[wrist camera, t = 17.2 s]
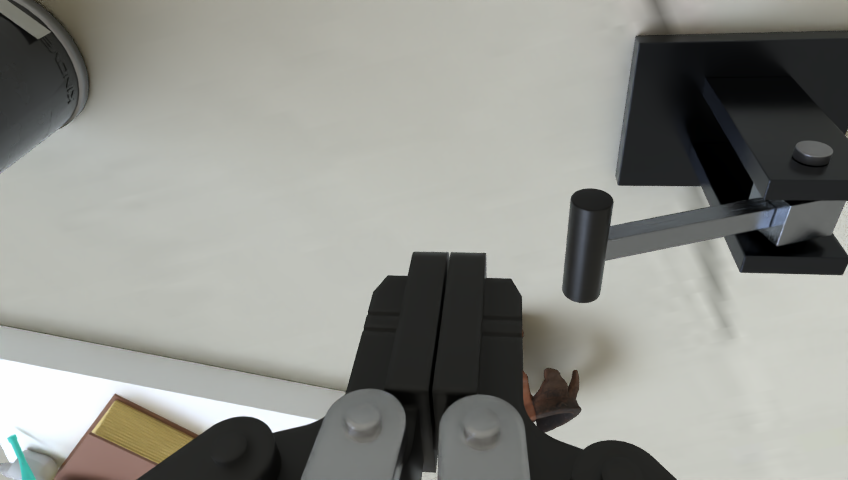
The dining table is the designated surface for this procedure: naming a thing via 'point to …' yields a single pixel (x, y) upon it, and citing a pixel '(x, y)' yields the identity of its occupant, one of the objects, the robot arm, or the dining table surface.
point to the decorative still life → (124, 406)
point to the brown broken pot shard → (552, 400)
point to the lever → (678, 231)
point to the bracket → (743, 129)
